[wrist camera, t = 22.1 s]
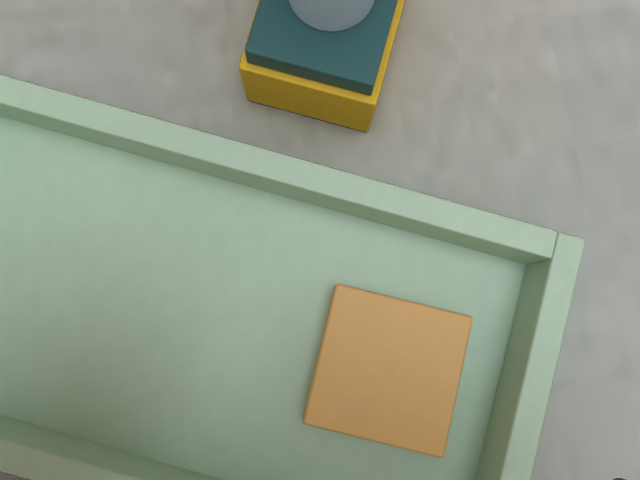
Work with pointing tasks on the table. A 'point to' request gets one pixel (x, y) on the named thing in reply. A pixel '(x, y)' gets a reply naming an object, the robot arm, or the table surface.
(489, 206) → the table surface
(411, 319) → the flat tan block
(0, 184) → the tray
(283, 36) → the rubber stamp
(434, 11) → the table surface
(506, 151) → the table surface
